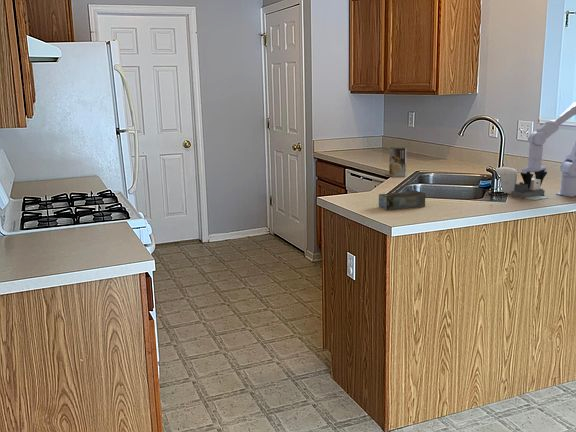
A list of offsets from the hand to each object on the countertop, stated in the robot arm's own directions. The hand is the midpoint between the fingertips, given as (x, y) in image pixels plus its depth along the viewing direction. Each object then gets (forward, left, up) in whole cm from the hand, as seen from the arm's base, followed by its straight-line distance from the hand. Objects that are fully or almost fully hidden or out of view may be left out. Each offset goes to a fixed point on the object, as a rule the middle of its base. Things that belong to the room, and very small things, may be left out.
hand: (532, 187), depth 267 cm
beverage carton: (+68, -12, -4) cm, 69 cm away
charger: (0, 0, -1) cm, 1 cm away
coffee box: (+16, -78, -4) cm, 79 cm away
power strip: (+3, 0, -4) cm, 5 cm away
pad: (+4, +6, -4) cm, 8 cm away
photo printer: (+6, -10, -4) cm, 13 cm away
